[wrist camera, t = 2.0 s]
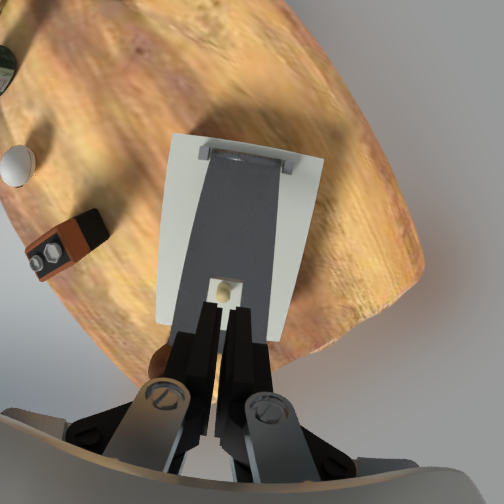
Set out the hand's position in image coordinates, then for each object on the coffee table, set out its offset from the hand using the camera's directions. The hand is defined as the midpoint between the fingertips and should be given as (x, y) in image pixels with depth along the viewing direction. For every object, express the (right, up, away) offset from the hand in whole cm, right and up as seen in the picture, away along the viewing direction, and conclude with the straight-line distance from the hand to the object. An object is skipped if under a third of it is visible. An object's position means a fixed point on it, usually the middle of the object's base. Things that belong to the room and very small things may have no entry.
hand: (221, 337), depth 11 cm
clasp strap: (0, +4, +11) cm, 11 cm away
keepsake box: (-1, +6, +22) cm, 23 cm away
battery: (-20, +6, +22) cm, 31 cm away
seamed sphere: (-29, +15, +19) cm, 37 cm away
